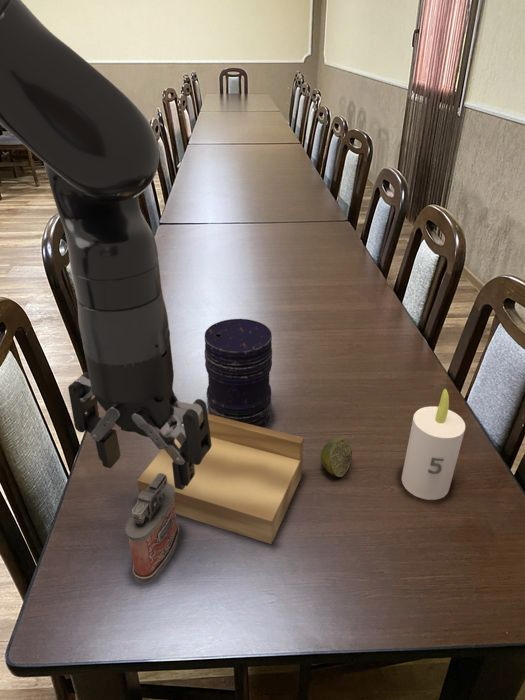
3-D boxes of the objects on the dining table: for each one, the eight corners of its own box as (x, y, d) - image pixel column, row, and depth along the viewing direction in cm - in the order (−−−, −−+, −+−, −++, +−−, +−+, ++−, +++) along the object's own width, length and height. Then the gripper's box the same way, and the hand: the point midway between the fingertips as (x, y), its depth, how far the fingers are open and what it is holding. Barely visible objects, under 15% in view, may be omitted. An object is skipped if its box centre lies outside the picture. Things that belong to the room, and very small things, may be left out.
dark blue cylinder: (266, 396, 89) (268, 316, 82) (275, 434, 81) (277, 350, 73) (206, 400, 88) (202, 320, 80) (209, 439, 80) (204, 354, 72)
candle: (403, 498, 70) (421, 406, 63) (400, 463, 76) (416, 375, 68) (452, 504, 70) (477, 412, 62) (446, 468, 75) (468, 380, 67)
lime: (350, 459, 77) (353, 431, 74) (352, 483, 73) (356, 455, 70) (319, 457, 77) (321, 429, 74) (319, 481, 73) (321, 453, 70)
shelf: (271, 544, 64) (272, 502, 60) (140, 502, 69) (134, 462, 66) (301, 476, 74) (303, 437, 70) (184, 444, 79) (181, 406, 75)
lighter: (153, 586, 59) (143, 524, 54) (126, 577, 60) (114, 515, 55) (185, 530, 65) (179, 470, 60) (160, 523, 66) (152, 463, 61)
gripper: (33, 344, 47) (68, 479, 55) (177, 377, 42) (191, 518, 51) (86, 308, 53) (110, 435, 61) (217, 333, 48) (224, 466, 57)
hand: (147, 472), depth 56 cm, fingers open, 8 cm apart
